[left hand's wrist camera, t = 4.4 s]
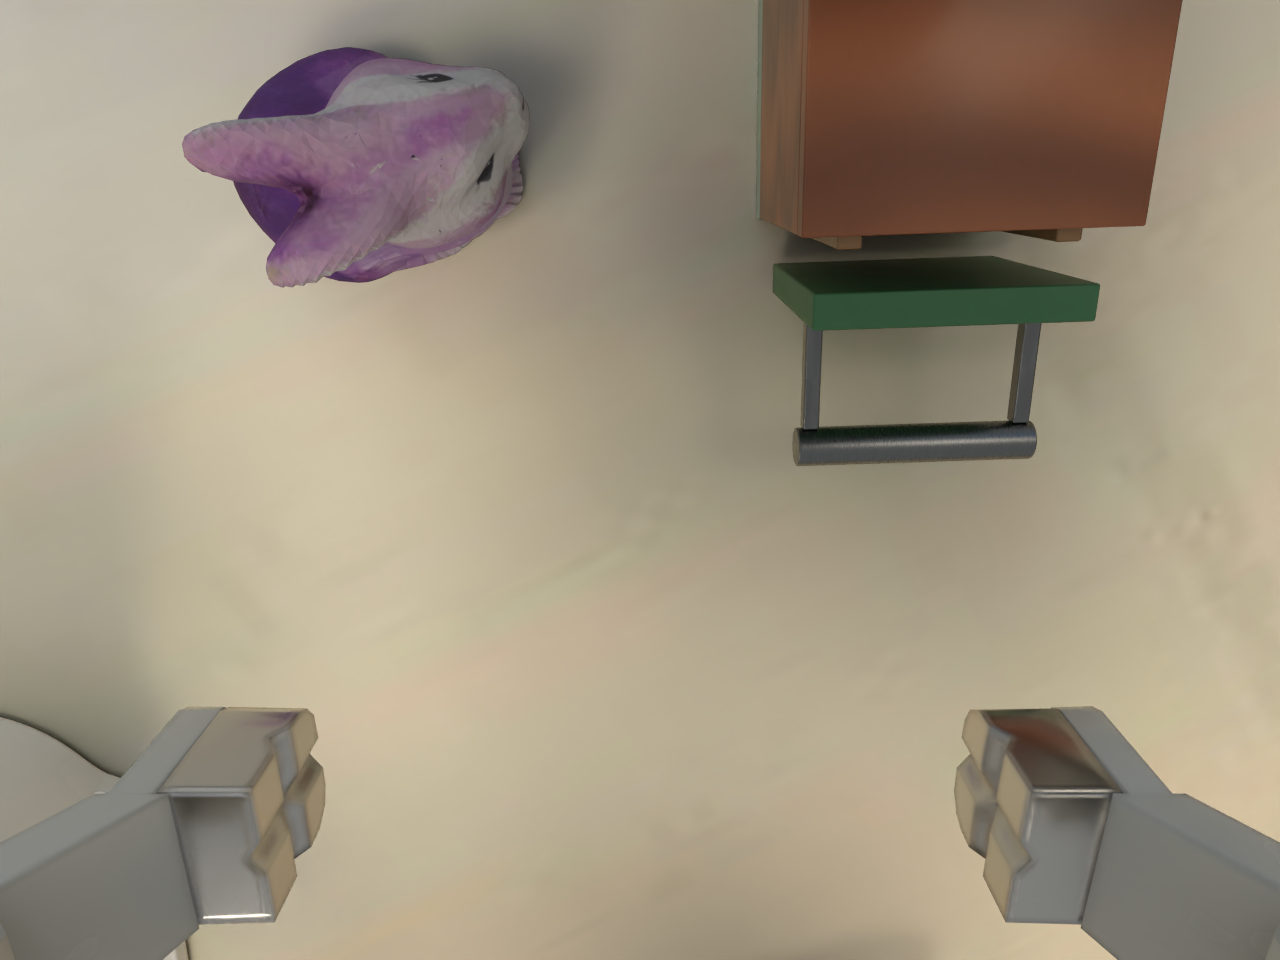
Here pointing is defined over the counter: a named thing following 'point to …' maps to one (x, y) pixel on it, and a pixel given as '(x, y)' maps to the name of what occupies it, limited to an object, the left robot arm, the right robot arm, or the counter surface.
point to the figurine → (370, 162)
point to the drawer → (927, 300)
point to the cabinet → (959, 114)
